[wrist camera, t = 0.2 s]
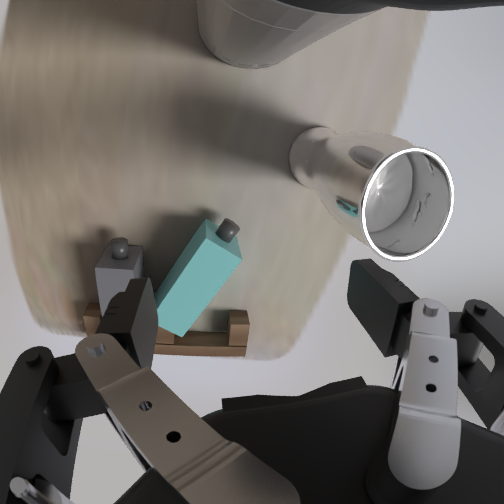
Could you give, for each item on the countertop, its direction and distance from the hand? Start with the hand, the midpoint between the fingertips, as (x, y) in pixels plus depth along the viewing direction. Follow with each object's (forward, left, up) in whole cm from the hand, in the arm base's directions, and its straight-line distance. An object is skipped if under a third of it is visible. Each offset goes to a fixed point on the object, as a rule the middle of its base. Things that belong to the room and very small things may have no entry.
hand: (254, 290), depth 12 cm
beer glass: (-3, +9, -18) cm, 20 cm away
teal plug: (+9, -3, -18) cm, 20 cm away
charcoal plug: (+12, -9, -18) cm, 24 cm away
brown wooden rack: (+16, -5, -18) cm, 25 cm away
